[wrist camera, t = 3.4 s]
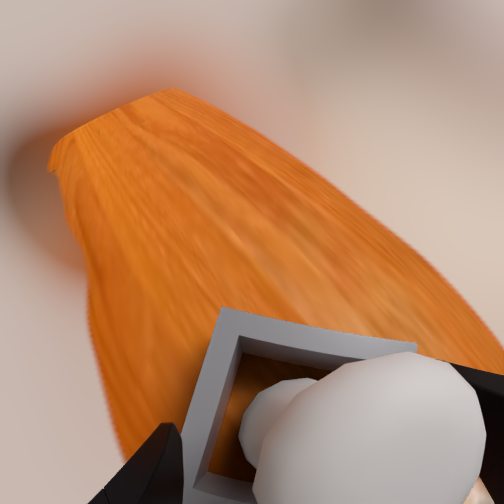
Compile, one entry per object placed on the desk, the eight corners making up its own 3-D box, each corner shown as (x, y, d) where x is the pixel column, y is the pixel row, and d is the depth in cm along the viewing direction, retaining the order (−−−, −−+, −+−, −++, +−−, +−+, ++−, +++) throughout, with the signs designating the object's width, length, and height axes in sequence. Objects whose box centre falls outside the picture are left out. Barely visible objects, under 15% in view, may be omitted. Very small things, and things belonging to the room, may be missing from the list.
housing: (352, 507, 9) (377, 527, 6) (183, 480, 11) (161, 497, 8) (386, 359, 15) (417, 343, 12) (229, 329, 16) (221, 306, 13)
